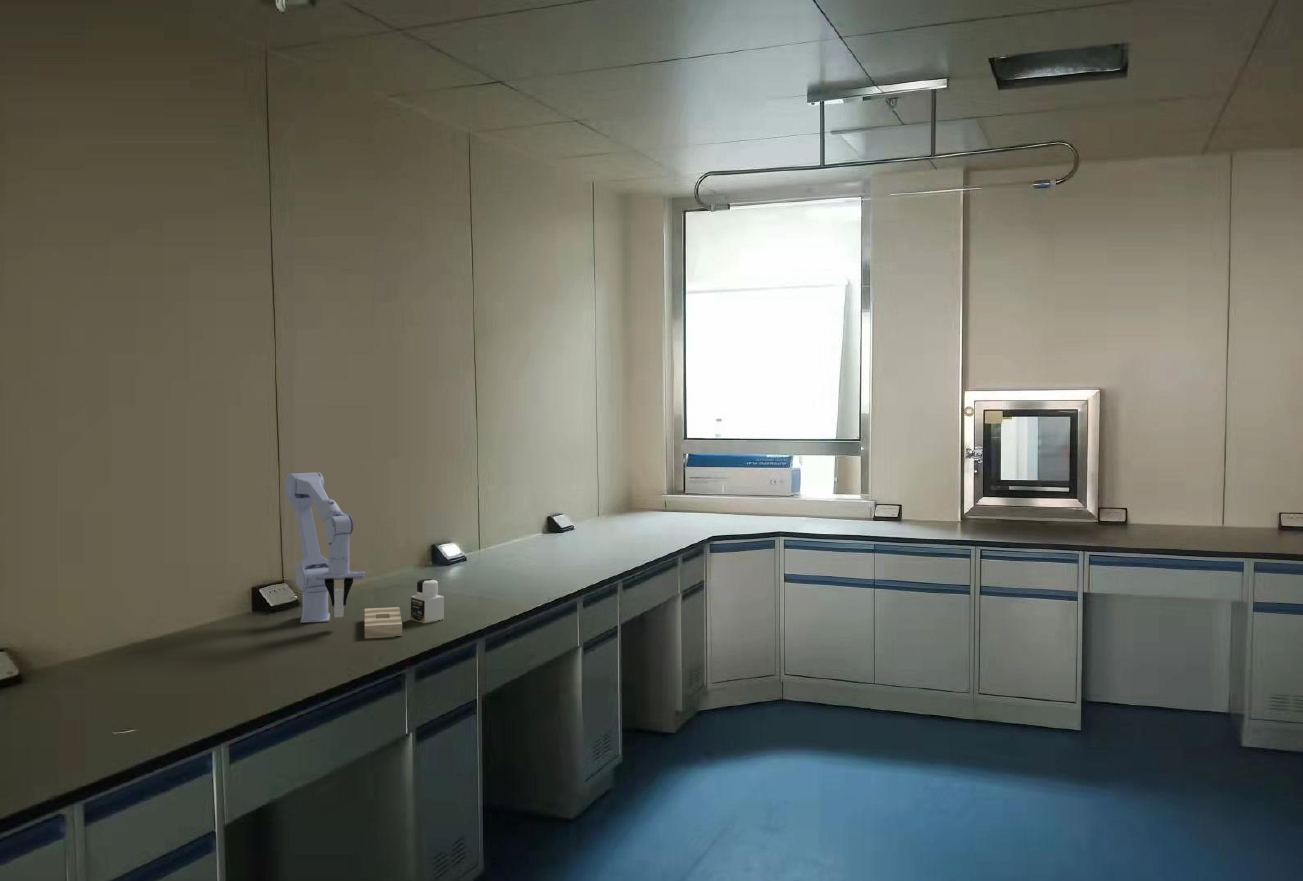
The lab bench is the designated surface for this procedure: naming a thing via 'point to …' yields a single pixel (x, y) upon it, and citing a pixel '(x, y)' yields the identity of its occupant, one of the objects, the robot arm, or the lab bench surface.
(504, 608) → the lab bench surface
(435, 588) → the medicine bottle
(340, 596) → the grey rectangular prism
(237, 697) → the lab bench surface
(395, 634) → the beige slab
